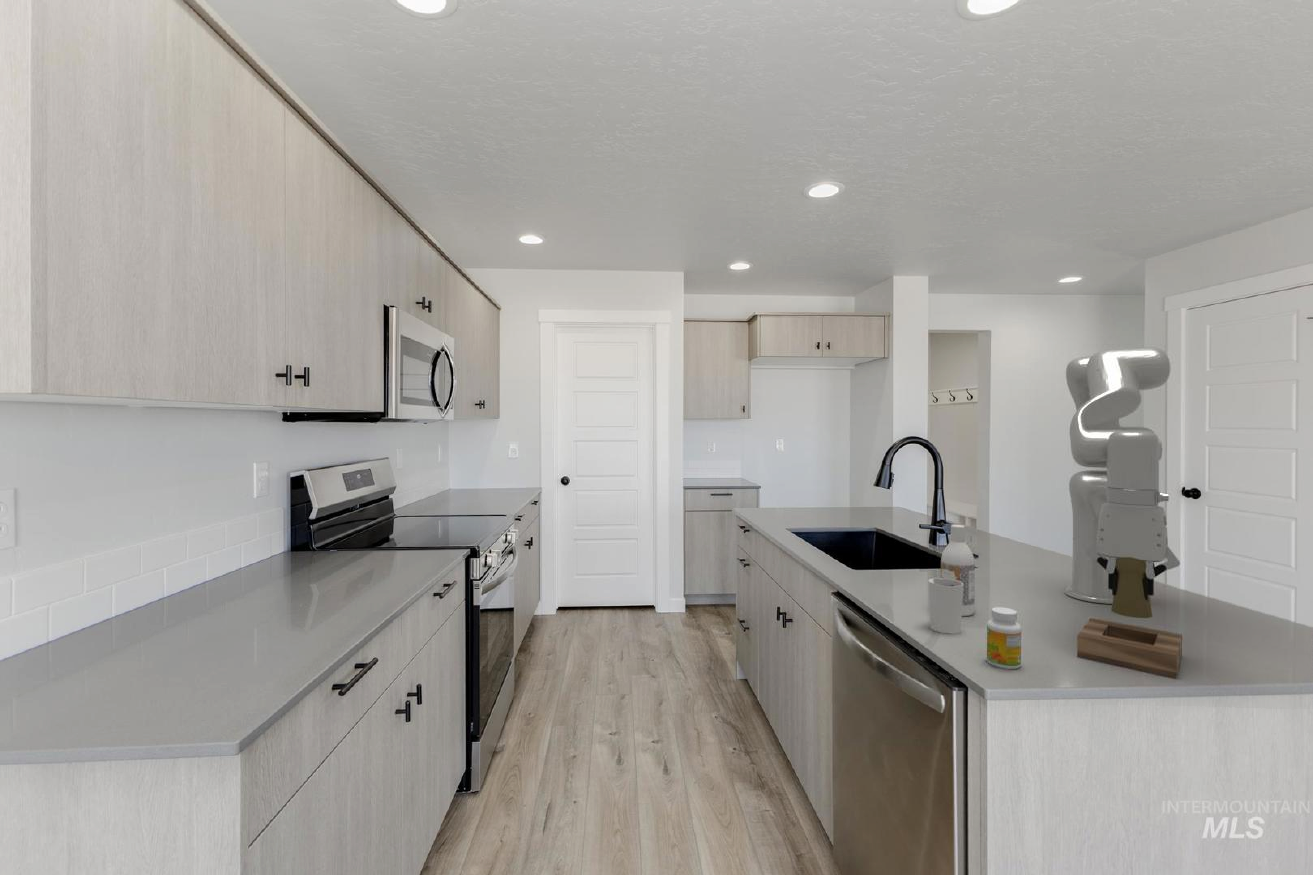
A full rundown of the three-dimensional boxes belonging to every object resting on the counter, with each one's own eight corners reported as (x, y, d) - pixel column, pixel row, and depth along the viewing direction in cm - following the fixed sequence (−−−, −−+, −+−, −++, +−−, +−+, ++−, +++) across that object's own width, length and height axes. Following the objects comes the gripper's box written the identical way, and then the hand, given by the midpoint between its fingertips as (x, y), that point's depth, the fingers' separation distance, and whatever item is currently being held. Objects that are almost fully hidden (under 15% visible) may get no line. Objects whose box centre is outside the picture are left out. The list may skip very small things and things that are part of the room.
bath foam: (933, 609, 140) (934, 524, 140) (955, 605, 143) (956, 522, 143) (959, 618, 134) (959, 529, 134) (981, 614, 137) (982, 526, 136)
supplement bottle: (980, 658, 111) (980, 606, 111) (1007, 657, 112) (1008, 605, 112) (999, 670, 106) (999, 615, 106) (1028, 669, 106) (1028, 614, 106)
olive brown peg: (1160, 618, 108) (1160, 557, 108) (1122, 617, 109) (1122, 556, 109) (1140, 609, 114) (1140, 551, 114) (1104, 607, 115) (1104, 550, 115)
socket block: (1090, 637, 122) (1090, 617, 122) (1181, 655, 112) (1182, 634, 112) (1077, 656, 112) (1077, 635, 112) (1176, 678, 102) (1176, 655, 102)
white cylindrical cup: (945, 622, 131) (946, 576, 131) (970, 632, 125) (970, 584, 125) (921, 625, 129) (921, 579, 129) (945, 636, 123) (945, 587, 123)
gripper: (1193, 500, 108) (1191, 601, 109) (1081, 493, 120) (1080, 584, 120) (1190, 503, 103) (1189, 610, 103) (1073, 496, 115) (1072, 591, 115)
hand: (1130, 595), depth 112 cm, fingers closed on olive brown peg, 3 cm apart
